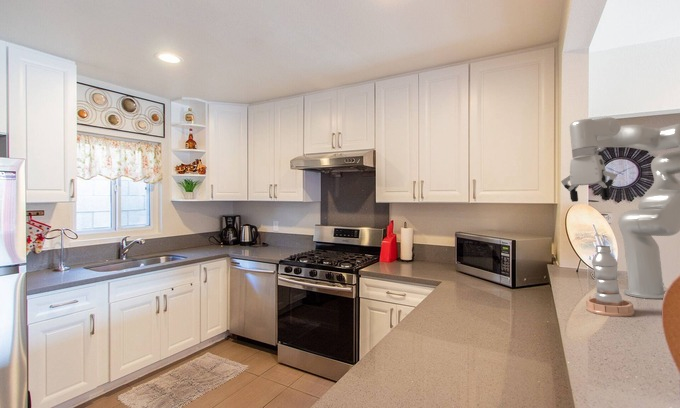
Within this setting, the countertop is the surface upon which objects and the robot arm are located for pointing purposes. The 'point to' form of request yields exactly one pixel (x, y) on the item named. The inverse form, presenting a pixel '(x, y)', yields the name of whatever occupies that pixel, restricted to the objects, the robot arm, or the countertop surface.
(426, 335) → the countertop surface
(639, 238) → the robot arm
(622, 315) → the round tray
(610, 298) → the plastic bottle
